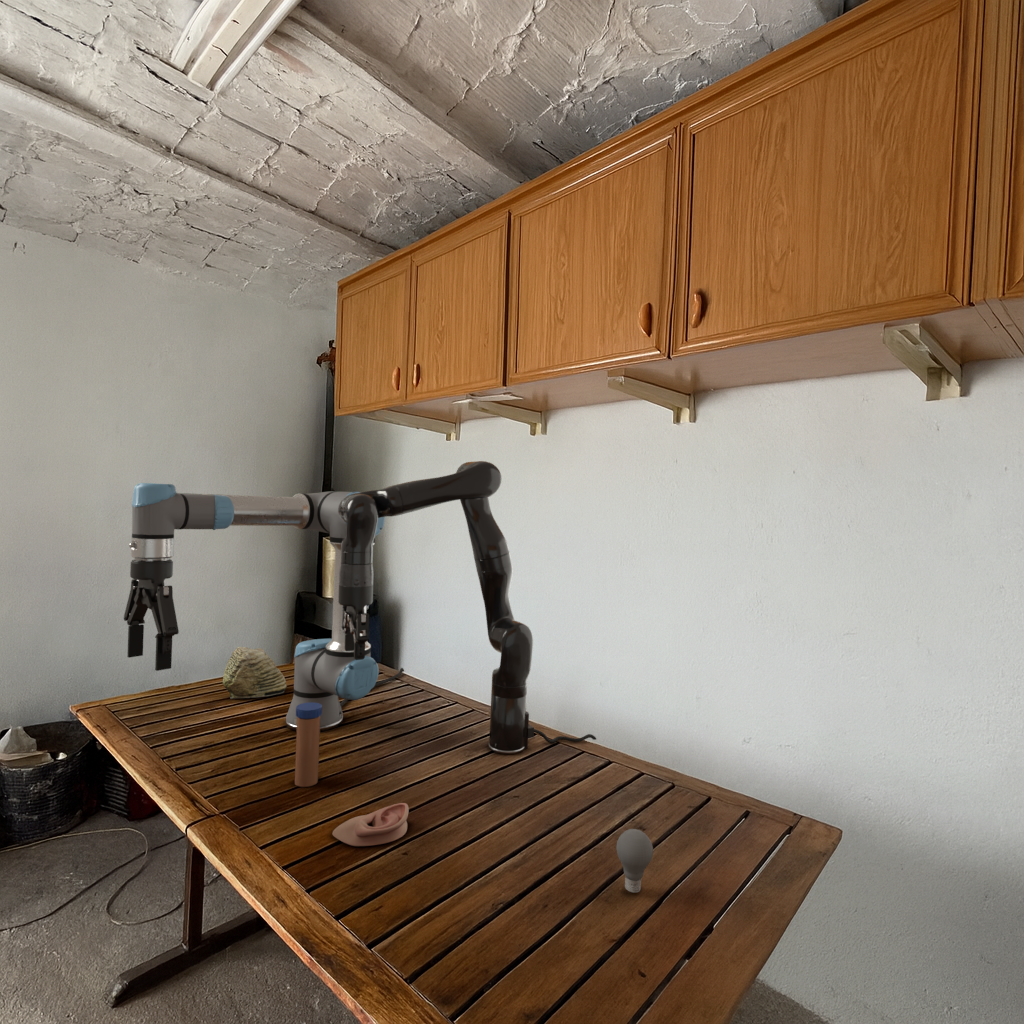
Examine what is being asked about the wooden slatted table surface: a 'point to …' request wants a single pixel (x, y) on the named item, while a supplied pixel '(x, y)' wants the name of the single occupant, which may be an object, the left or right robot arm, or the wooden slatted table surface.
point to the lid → (308, 710)
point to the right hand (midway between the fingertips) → (354, 654)
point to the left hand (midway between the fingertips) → (148, 662)
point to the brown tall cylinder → (307, 751)
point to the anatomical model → (374, 826)
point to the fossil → (252, 674)
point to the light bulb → (634, 857)
